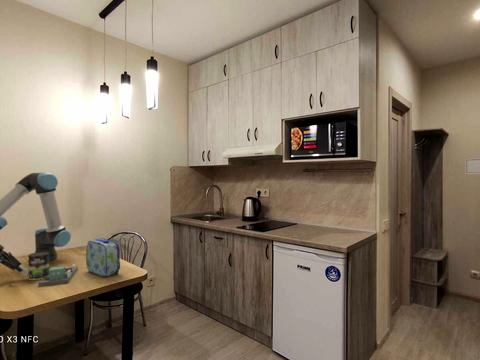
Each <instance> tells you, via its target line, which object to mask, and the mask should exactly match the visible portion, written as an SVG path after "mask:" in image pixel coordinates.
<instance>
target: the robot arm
mask: <svg viewBox="0 0 480 360" xmlns="http://www.w3.org/2000/svg"><path fill="white" fill-rule="evenodd" d="M58 184H59V183H58V178H57V176H55V174H53V173H51V172H46V171H45V172H31V173H29V174H27V175H26V176H24V177H22V178H21V179H20V180H19V181H18V182H16V183H15V185H14V187H13V188H12V189H11V190H9V191H8V192H7V194H5V195H4V196H3V197H2V198H0V231H1V230H3V229H4V228H5V227H6V226H7V225H8V221H7V219H6V218H5V217H3V215H4V214H5V213H6V212H7V211H8V210H10V209H11V208H12V207H13V206H14V205H15V204H17V203H18V201H19V200H22V198H23V197H24V196H26V195H28V194H30V193H31V192H33V191H35V193H36V195H37V196H39V199H40V202H41V207H42V211H43V214H44V219H45V222H46V227H45V228H39V229H36V230H34V231H35V232H34V233H35V234H34V237H35V239H34V240H35V241H34V245H35V251H34V253H37V252H49V262H51V261H54V260H57V259H58V257H59V256H58V252H57V250H56V248H59V247H60V248H63V247H65V246H67V245H68V243H70V241H71V238H72V236H71V232H70V231H68V230H66V226H65V225H64V224H63V223H62V220H61V216H60V211H59V207H58V203H57V200H56V199H57V198H56V196H55V195H56V194H55V192H56V191H57V189H56V188H57V186H58ZM55 247H56V248H55ZM4 249H5V247H4V246H3V245H1V244H0V264H1V265H3V266H5V267H6V268H9V269H10V270H12V271H15V270H16V271H17V272H18V273H20V274H21V275H22V276H24V277H26V276H27V275H29V269H27V268H25V267H24V266H22V262H20V261H19V260H18V259H17V258H16V257H15V256H14V255H13V254H12V253H11V252H10V251H8V252H7V251H5V250H4Z"/></svg>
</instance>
